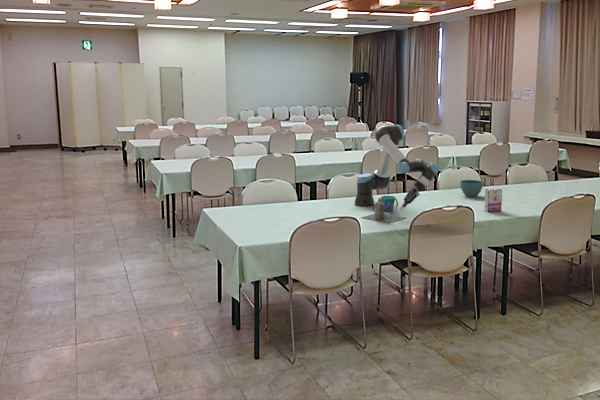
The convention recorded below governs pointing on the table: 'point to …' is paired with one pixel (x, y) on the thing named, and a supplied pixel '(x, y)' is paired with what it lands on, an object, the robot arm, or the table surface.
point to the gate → (381, 211)
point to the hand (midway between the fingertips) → (399, 210)
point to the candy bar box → (493, 200)
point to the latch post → (377, 210)
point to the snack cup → (389, 202)
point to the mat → (385, 218)
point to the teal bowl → (471, 187)
